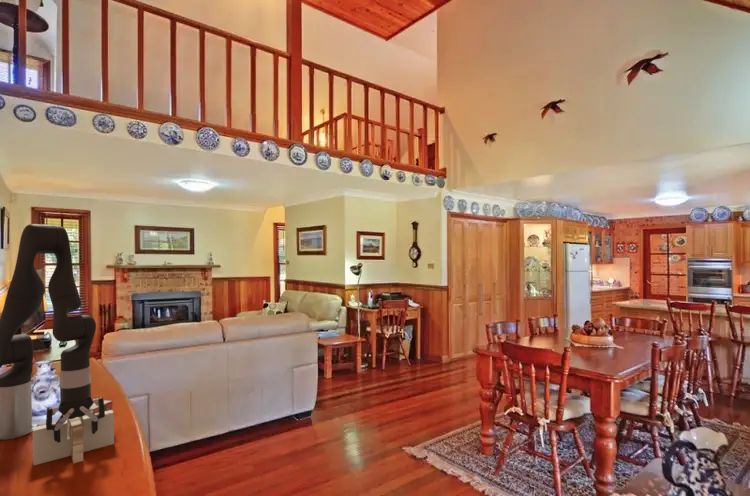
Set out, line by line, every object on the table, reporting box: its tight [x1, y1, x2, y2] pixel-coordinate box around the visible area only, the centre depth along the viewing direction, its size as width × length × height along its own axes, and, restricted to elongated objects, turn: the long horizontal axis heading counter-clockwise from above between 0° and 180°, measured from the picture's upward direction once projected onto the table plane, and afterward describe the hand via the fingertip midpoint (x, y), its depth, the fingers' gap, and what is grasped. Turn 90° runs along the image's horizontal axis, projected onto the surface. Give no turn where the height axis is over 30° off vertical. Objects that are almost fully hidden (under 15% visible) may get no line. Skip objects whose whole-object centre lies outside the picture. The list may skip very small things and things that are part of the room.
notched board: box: [32, 409, 115, 466], centre depth 130 cm, size 20×3×10 cm, turn 131°
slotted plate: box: [66, 417, 84, 464], centre depth 130 cm, size 16×2×10 cm, turn 41°
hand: (76, 437), depth 127 cm, fingers open, 8 cm apart
